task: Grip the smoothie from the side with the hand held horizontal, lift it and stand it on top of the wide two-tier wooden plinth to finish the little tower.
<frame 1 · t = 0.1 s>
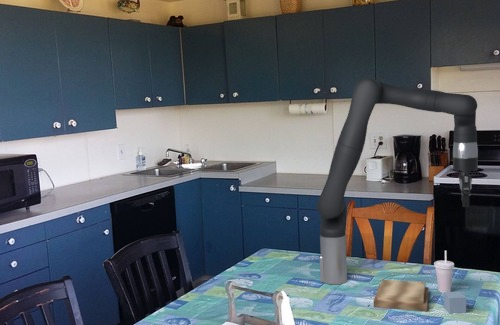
hand: (465, 204, 173), 29 cm above the table, tool pointing down, fingers open, 8 cm apart
smoothie: (444, 291, 176), on the table
plinth: (401, 299, 170), on the table
slate cube: (454, 310, 160), on the table
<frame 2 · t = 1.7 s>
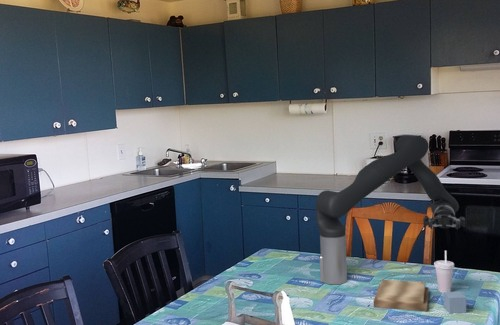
hand: (444, 226, 184), 20 cm above the table, tool horizontal, fingers open, 8 cm apart
nothing on the table moved.
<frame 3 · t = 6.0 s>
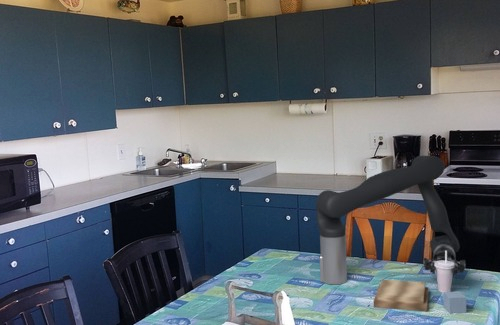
hand: (444, 271, 173), 8 cm above the table, tool horizontal, fingers closed on smoothie, 6 cm apart
smoothie: (444, 291, 176), on the table, touching gripper
everything else where it was.
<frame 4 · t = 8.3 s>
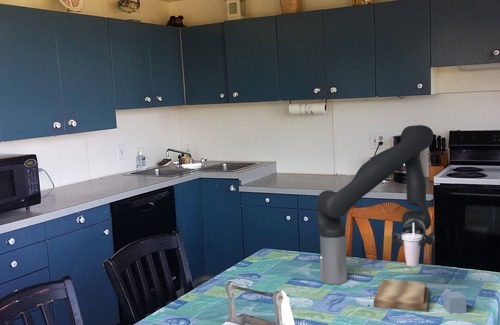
hand: (411, 244, 168), 19 cm above the table, tool horizontal, fingers closed on smoothie, 6 cm apart
smoothie: (412, 265, 171), point 11 cm above the table, touching gripper
everything else where it was.
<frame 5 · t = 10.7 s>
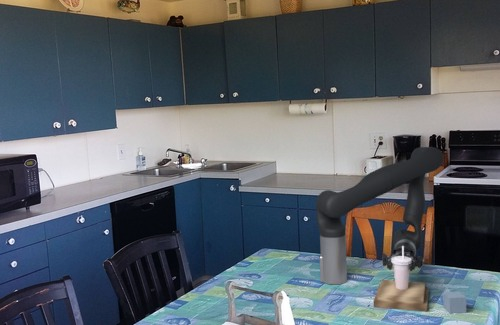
hand: (400, 267, 167), 12 cm above the table, tool horizontal, fingers closed on smoothie, 6 cm apart
smoothie: (401, 288, 170), point 4 cm above the table, touching gripper
everything else where it was.
when the fingers open (12 cm above the table, at t = 10.9 s): smoothie moves 1 cm, resting on plinth.
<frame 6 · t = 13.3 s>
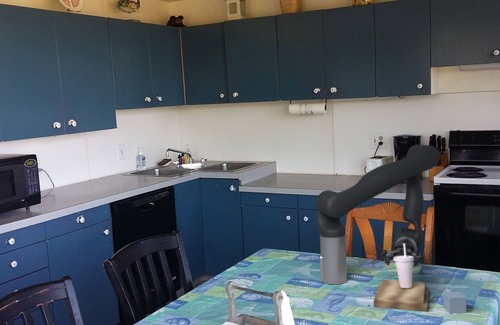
hand: (401, 262, 171), 12 cm above the table, tool horizontal, fingers open, 8 cm apart
smoothie: (406, 287, 170), point 4 cm above the table, touching gripper, plinth
everything else where it was.
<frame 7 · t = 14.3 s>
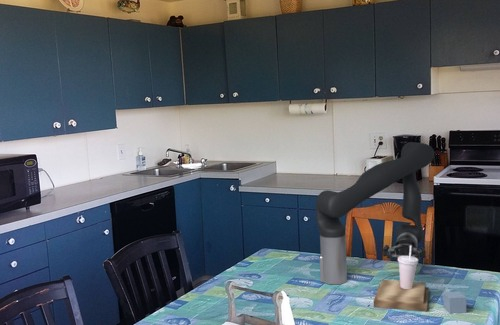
hand: (402, 257, 176), 12 cm above the table, tool horizontal, fingers open, 8 cm apart
smoothie: (406, 287, 170), point 4 cm above the table, touching plinth
everything else where it was.
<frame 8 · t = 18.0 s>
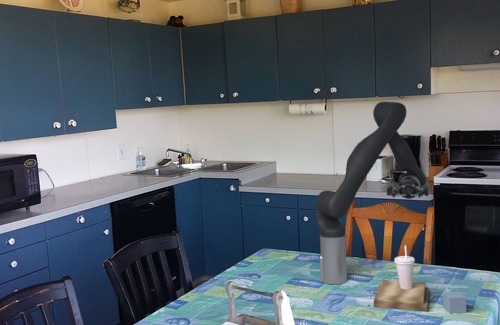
hand: (406, 194, 181), 32 cm above the table, tool horizontal, fingers open, 8 cm apart
at the end: smoothie inside the target area on the plinth (1.5 cm from its centre), point 3.8 cm above the plinth's base; smoothie tilted 1°; the gripper is holding nothing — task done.
